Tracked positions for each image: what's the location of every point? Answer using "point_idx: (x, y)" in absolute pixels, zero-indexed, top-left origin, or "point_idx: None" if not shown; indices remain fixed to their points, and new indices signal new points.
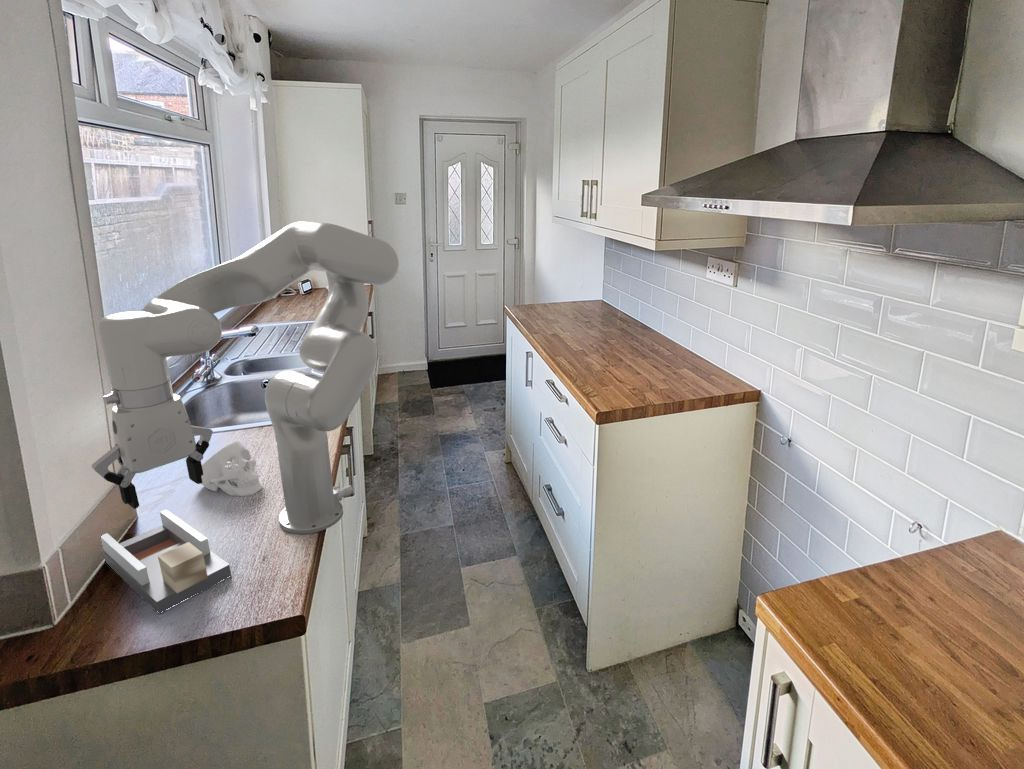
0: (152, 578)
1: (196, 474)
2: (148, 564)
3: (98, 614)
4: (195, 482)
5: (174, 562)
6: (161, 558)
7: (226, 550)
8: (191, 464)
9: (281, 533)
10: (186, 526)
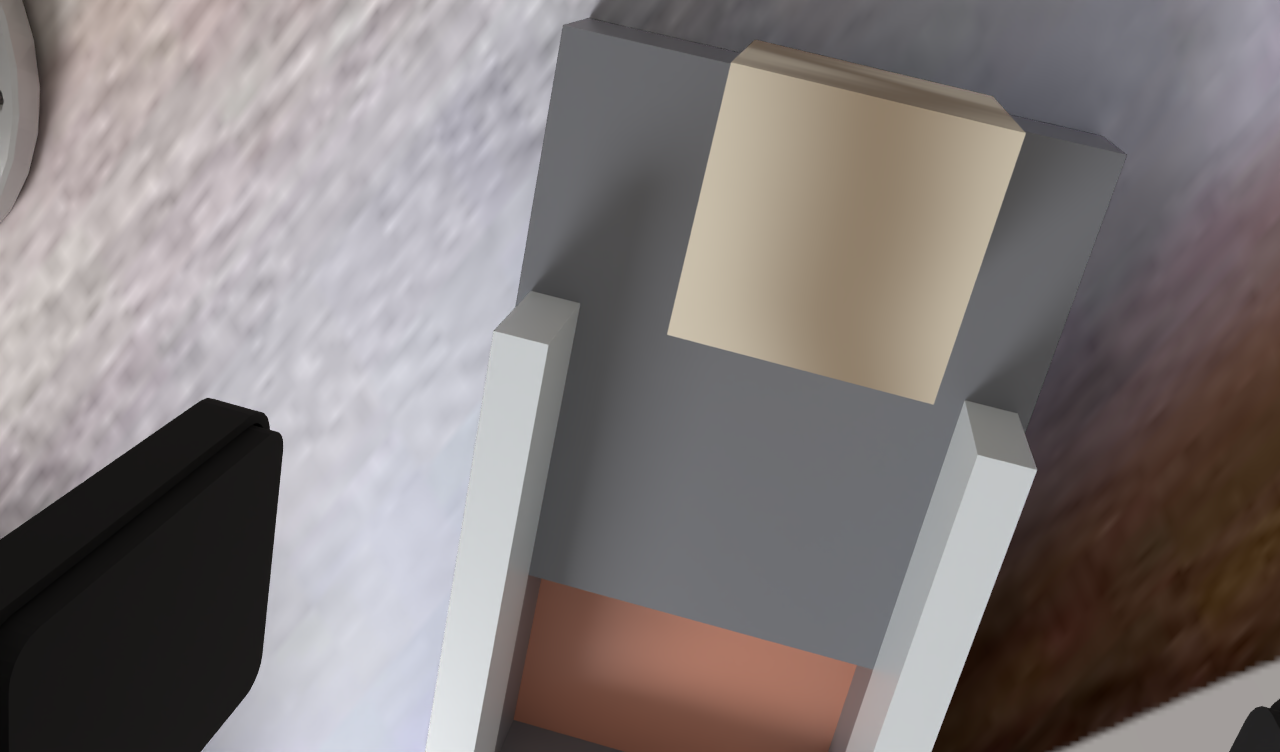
0: (928, 416)
1: (169, 511)
2: (822, 569)
3: (1231, 505)
4: (274, 504)
5: (949, 181)
6: (949, 340)
7: (408, 303)
8: (47, 741)
9: (77, 99)
10: (469, 606)
